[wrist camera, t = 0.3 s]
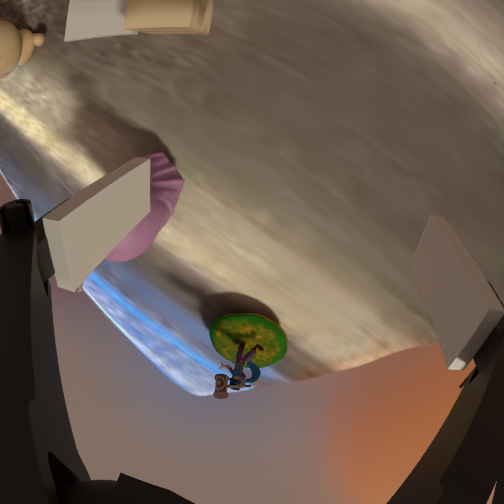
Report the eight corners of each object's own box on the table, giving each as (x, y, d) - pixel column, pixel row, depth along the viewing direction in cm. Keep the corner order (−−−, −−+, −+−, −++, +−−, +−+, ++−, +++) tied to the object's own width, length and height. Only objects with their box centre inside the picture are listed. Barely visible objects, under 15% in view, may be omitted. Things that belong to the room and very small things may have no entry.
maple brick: (159, -19, 29) (134, -31, 23) (218, -21, 28) (200, -38, 22) (150, 33, 33) (123, 29, 27) (209, 34, 32) (189, 27, 26)
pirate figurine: (304, 328, 53) (298, 402, 40) (263, 364, 60) (250, 430, 47) (234, 287, 51) (209, 359, 38) (200, 330, 57) (174, 395, 45)
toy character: (147, 130, 40) (47, 178, 23) (207, 172, 42) (136, 247, 25) (113, 195, 46) (28, 265, 29) (166, 233, 48) (98, 321, 31)
